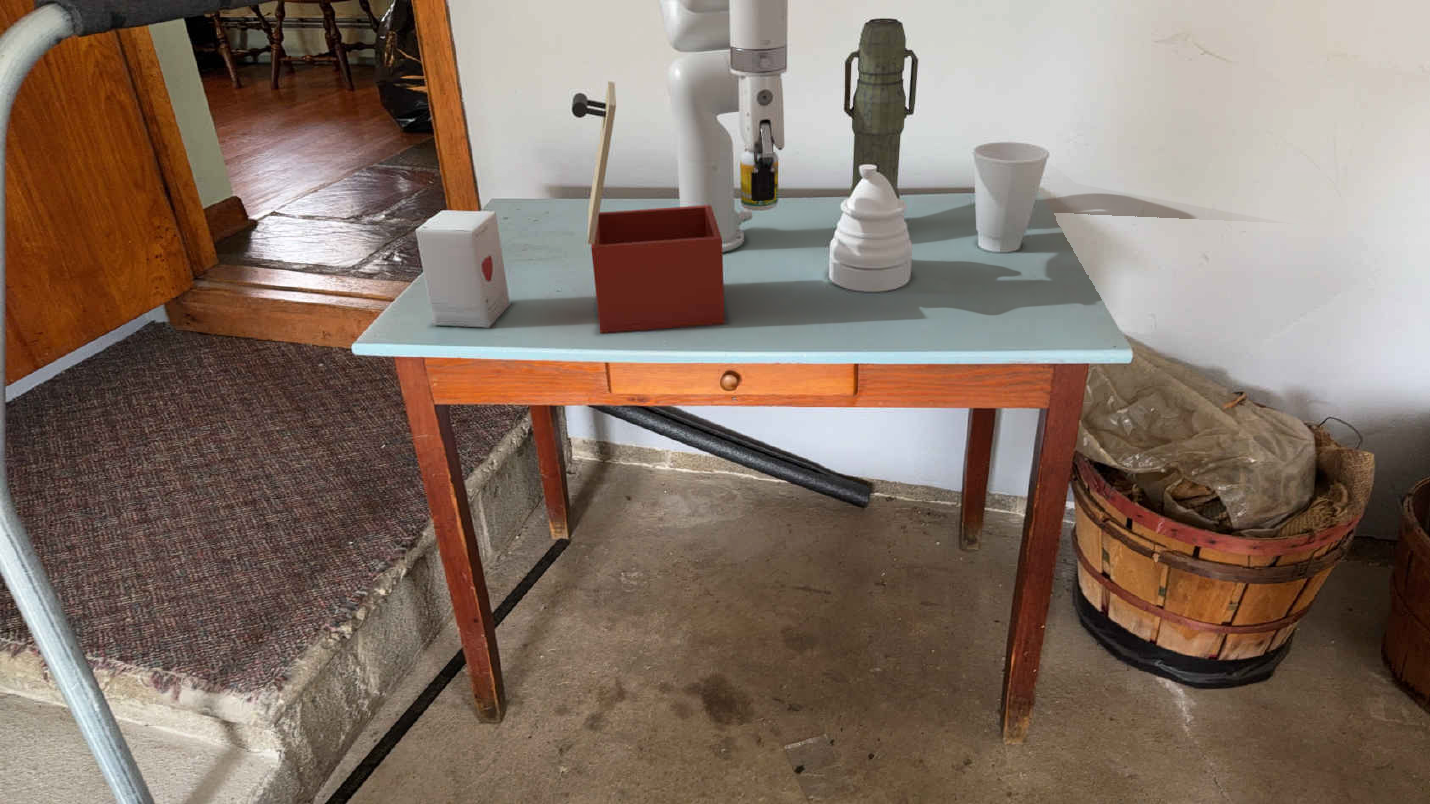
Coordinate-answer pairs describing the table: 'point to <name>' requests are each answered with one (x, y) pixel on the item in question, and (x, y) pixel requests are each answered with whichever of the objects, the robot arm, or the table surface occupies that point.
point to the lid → (603, 148)
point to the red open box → (658, 269)
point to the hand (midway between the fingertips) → (759, 191)
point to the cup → (1006, 192)
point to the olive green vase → (879, 98)
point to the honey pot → (871, 238)
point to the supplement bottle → (745, 173)
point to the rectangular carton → (463, 268)
